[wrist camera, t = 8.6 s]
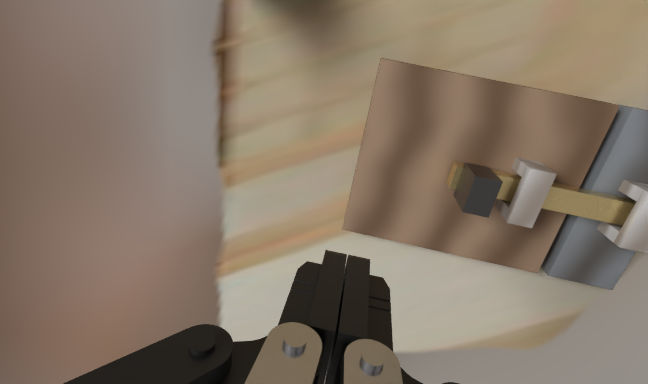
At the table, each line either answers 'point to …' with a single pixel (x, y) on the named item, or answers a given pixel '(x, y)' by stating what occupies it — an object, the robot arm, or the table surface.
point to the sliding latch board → (502, 155)
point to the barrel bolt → (488, 185)
